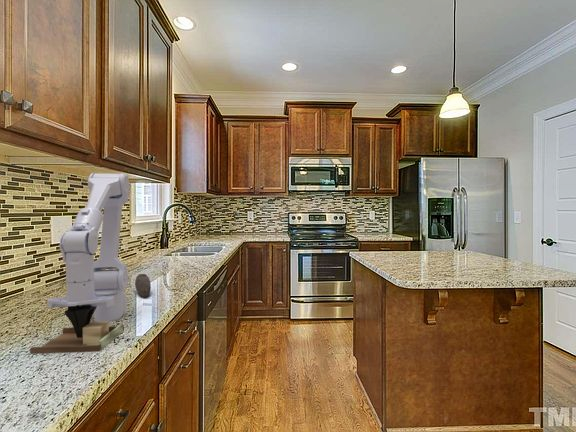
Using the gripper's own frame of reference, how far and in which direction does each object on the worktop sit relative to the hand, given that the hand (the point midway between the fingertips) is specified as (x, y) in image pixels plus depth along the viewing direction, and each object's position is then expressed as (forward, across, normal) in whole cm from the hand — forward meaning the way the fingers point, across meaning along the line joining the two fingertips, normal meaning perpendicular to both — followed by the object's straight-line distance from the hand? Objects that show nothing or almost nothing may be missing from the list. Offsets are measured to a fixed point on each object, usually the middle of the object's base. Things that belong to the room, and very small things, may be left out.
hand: (82, 336), depth 78 cm
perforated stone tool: (+3, -4, +47) cm, 47 cm away
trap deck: (+3, 0, 0) cm, 3 cm away
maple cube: (+1, +3, 0) cm, 4 cm away
